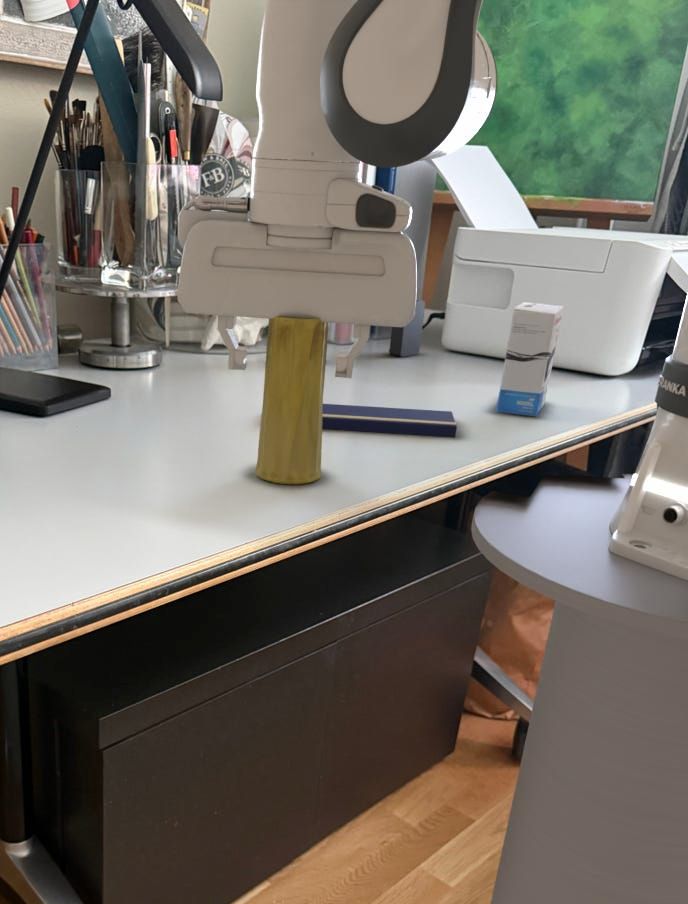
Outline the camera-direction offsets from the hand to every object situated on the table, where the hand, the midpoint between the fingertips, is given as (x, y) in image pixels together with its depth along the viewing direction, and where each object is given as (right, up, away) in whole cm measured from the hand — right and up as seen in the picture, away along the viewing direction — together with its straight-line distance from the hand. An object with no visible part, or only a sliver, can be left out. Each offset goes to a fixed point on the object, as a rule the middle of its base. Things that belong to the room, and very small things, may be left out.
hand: (290, 372), depth 83 cm
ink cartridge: (+23, +20, +62) cm, 69 cm away
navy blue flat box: (+10, +1, +22) cm, 25 cm away
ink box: (+31, +4, +31) cm, 44 cm away
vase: (0, -9, +4) cm, 10 cm away
